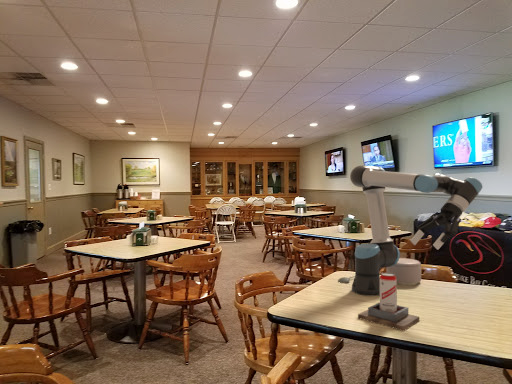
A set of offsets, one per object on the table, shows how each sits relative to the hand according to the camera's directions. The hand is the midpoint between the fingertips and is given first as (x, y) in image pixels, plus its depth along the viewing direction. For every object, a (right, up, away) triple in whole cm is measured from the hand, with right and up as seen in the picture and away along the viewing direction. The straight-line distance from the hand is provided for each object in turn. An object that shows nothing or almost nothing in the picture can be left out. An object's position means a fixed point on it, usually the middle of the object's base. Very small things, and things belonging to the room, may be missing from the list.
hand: (423, 245), depth 141 cm
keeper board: (-18, -28, -8) cm, 34 cm away
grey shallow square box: (-18, -26, -8) cm, 32 cm away
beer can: (-17, -26, -8) cm, 33 cm away
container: (+14, -29, +51) cm, 60 cm away
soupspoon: (-14, -29, +56) cm, 65 cm away
